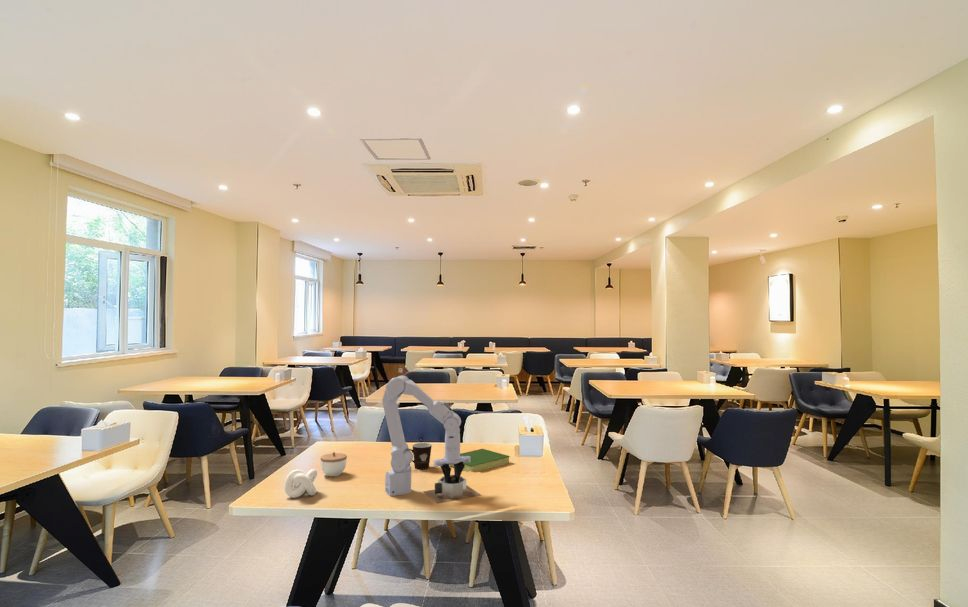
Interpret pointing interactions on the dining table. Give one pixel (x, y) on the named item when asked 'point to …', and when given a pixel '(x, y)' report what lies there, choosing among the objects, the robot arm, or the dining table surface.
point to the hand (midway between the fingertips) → (452, 483)
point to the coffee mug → (421, 455)
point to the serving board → (439, 499)
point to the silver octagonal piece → (450, 488)
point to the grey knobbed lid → (452, 479)
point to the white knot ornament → (300, 483)
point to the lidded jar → (333, 463)
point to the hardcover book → (483, 460)
